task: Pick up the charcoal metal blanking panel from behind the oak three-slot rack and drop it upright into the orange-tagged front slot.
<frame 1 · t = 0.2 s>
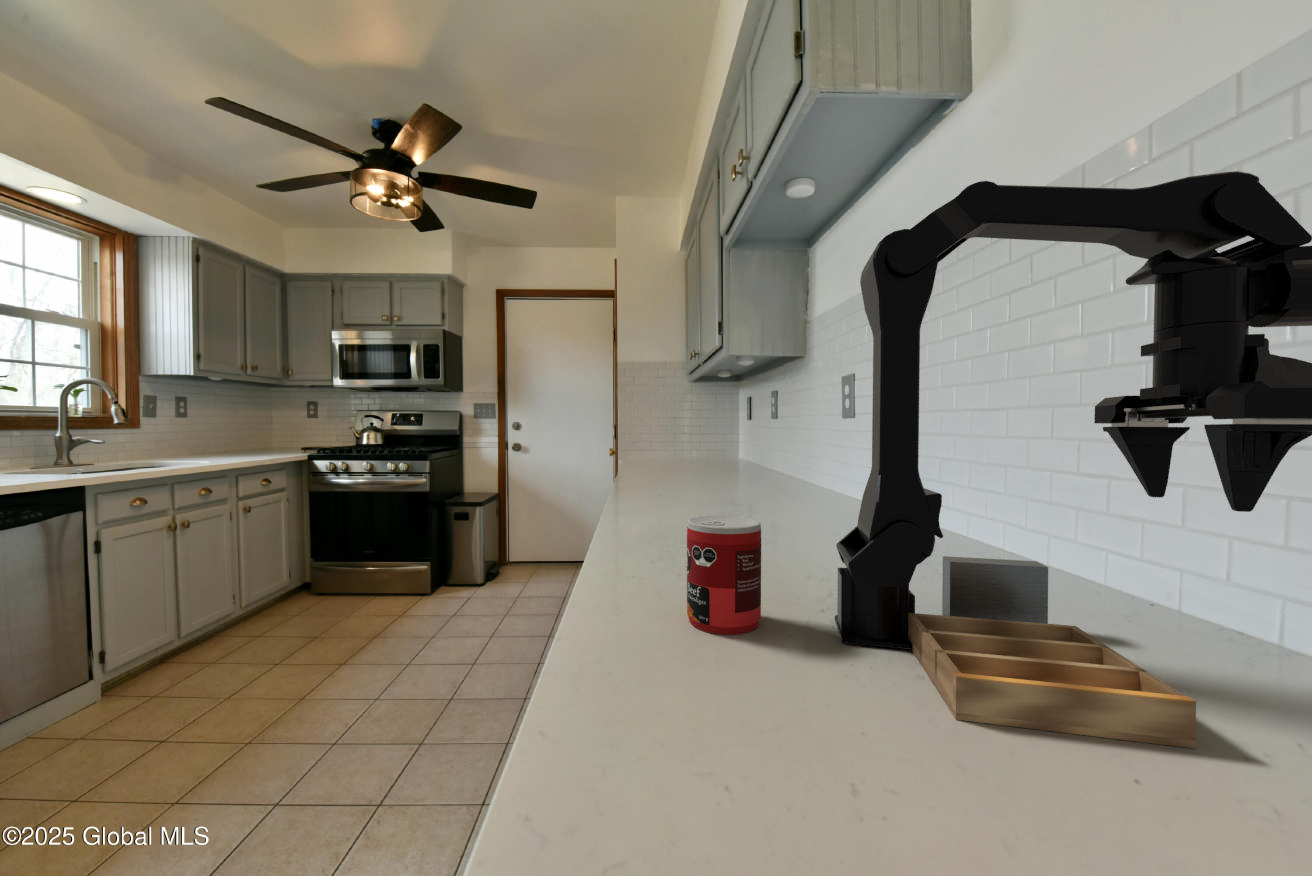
hand: (1194, 503, 44), 14 cm above the table, fingers open, 9 cm apart
blanking panel: (992, 626, 53), on the table
canned food: (723, 623, 54), on the table
rack: (1022, 685, 40), on the table
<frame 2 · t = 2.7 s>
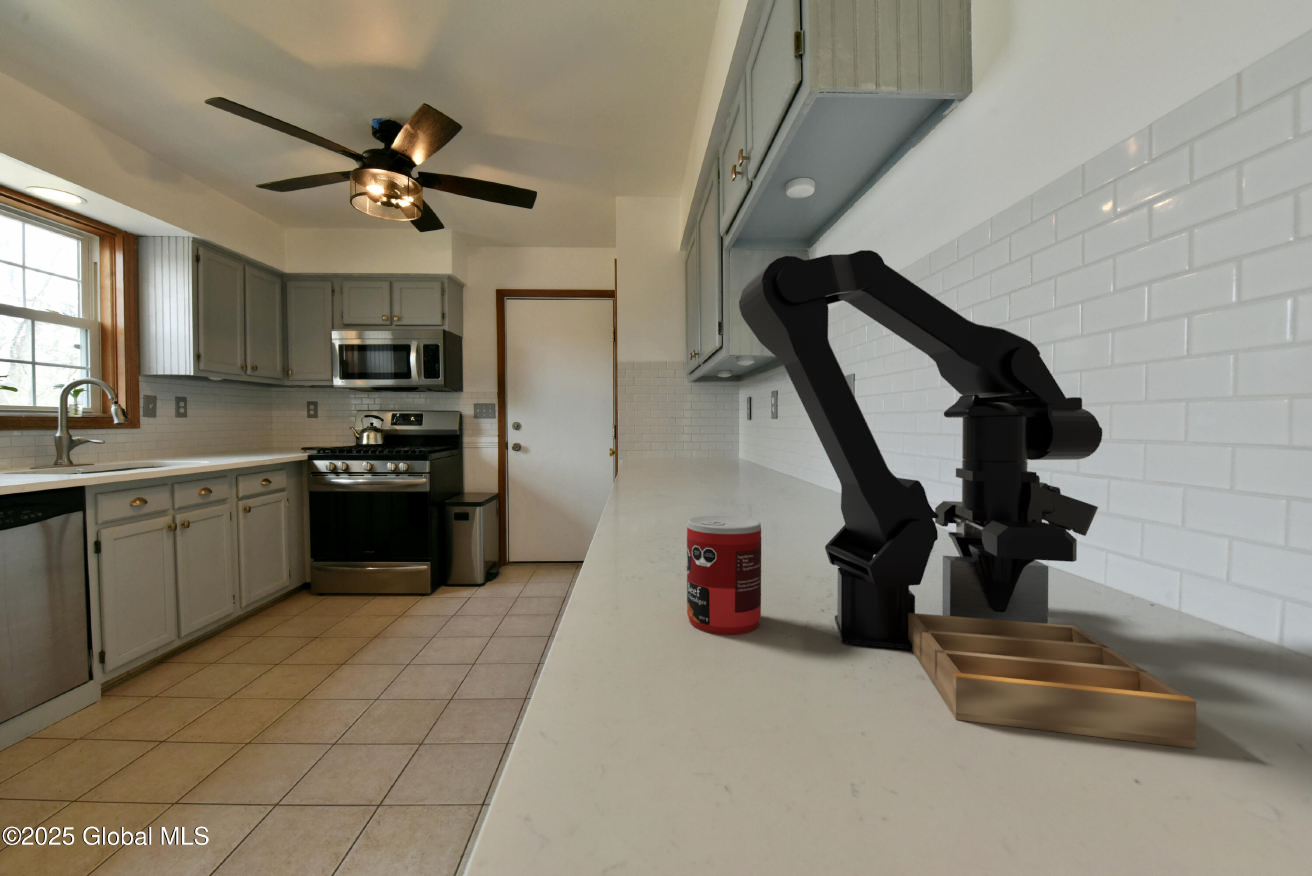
hand: (992, 607, 53), 2 cm above the table, fingers closed on blanking panel, 2 cm apart
blanking panel: (992, 626, 53), on the table, touching gripper
everything else where it was.
when the fingers open (4 cm above the table, at t = 7.6 s): blanking panel drops 1 cm, resting on rack.
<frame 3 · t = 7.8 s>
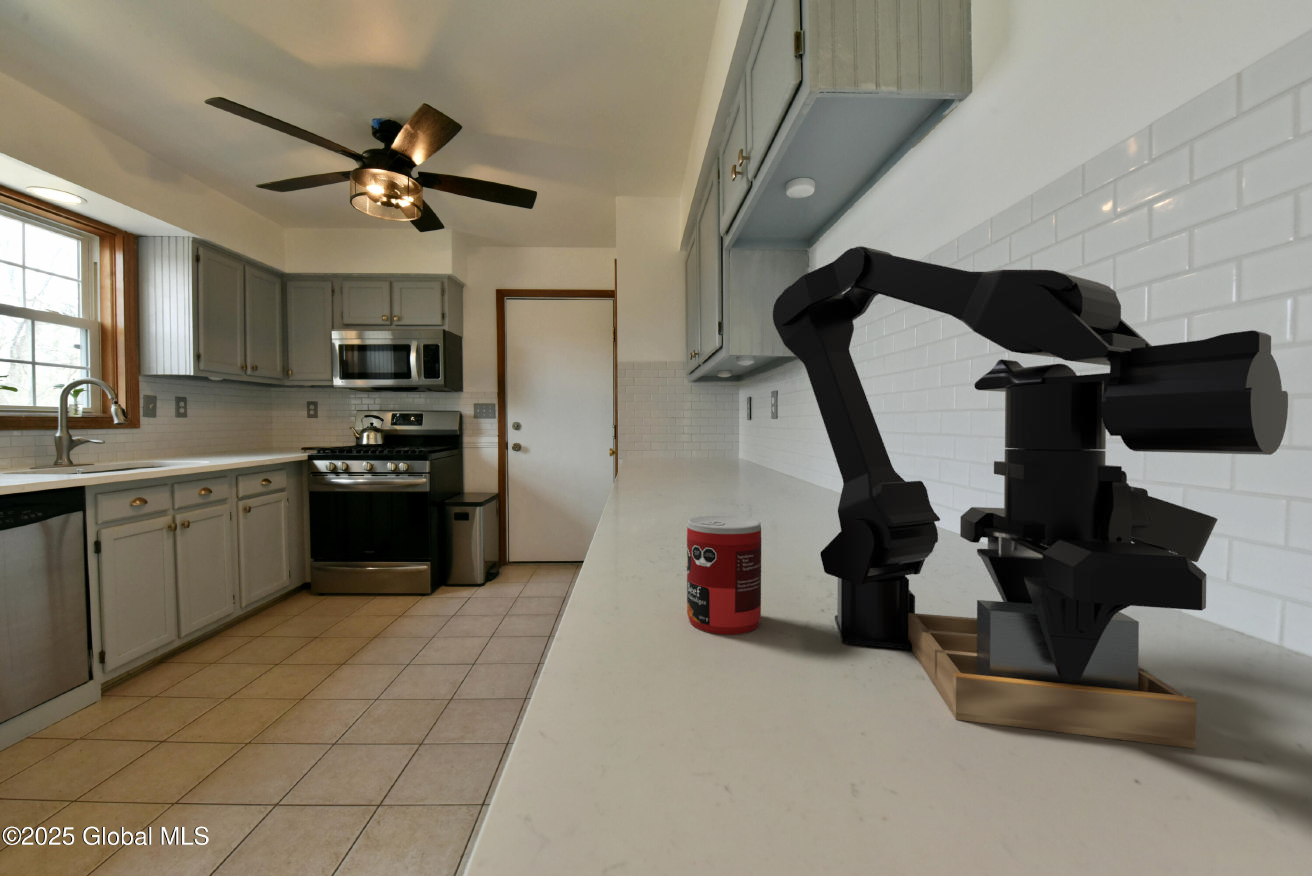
hand: (1050, 663, 36), 4 cm above the table, fingers open, 4 cm apart
blanking panel: (1052, 705, 36), point 1 cm above the table, touching rack
everything else where it was.
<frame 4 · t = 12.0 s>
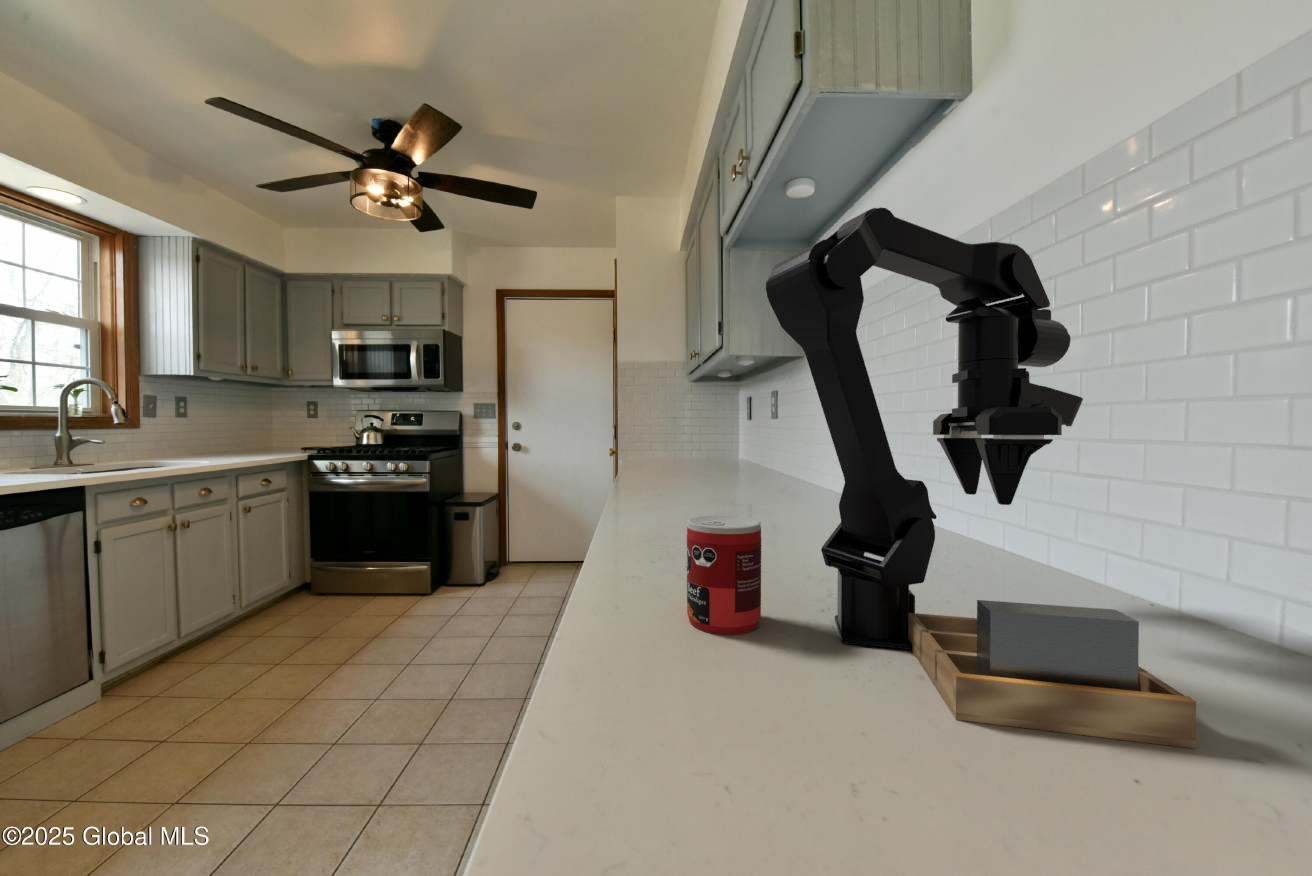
hand: (986, 499, 57), 13 cm above the table, fingers open, 9 cm apart
nothing on the table moved.
at the end: blanking panel inside the target area on the rack (0.1 cm from its centre), point 0.6 cm above the rack's base; blanking panel tilted 0°; the gripper is holding nothing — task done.
